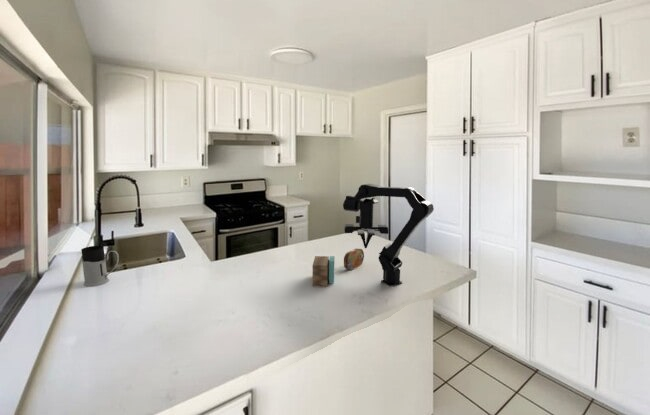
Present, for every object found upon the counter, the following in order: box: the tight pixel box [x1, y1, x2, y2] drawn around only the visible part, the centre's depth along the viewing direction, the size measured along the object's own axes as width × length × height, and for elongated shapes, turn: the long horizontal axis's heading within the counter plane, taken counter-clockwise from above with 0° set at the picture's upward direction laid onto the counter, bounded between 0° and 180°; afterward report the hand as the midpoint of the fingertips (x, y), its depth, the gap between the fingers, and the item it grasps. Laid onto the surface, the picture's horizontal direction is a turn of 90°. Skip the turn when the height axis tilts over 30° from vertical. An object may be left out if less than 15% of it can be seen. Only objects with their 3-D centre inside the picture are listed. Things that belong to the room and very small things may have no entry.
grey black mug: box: [80, 245, 120, 288], centre depth 134 cm, size 9×14×15 cm, turn 94°
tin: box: [343, 248, 365, 271], centre depth 155 cm, size 15×3×8 cm, turn 143°
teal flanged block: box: [328, 255, 335, 284], centre depth 137 cm, size 9×7×10 cm
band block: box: [312, 255, 330, 288], centre depth 137 cm, size 6×12×9 cm, turn 177°
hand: (365, 248), depth 141 cm, fingers closed
